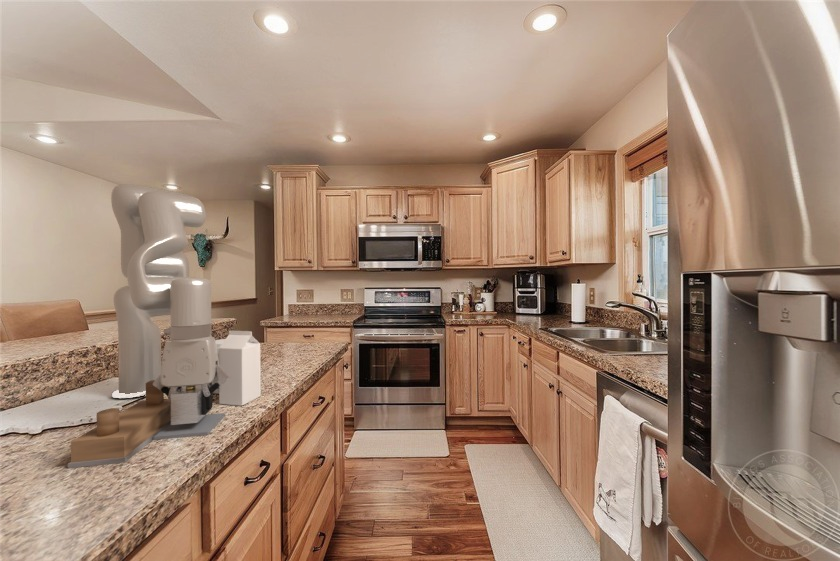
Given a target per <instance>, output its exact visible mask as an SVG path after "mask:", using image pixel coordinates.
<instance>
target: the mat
mask: <svg viewBox="0 0 840 561" xmlns="http://www.w3.org/2000/svg"><path fill="white" fill-rule="evenodd" d="M225 416H226V413H225V412H222V413H221V412H220V413H210V414H208V413H207V414H206V415H205V416H204V417H203V418H202V419H201V420H200V421H199V422H198V423H189V424H178V425H171V423H170V424H169V425H168V426H166V427H165V428H164V429H163V430H162V431H160V432H159V433H158V434H157V435H155V436H154V437H153V440H154V441H157V440H166V439H167V440H168V439H176V438H177V439H178V438H186V437H198V436H207V435H209V434H210V433H211V432H212V431H213V429H214V428H215V427H216V426H217V425H218V424H219V423H220V422H221V421H222V420H223V418H225ZM153 440H152V441H153Z"/></svg>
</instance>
